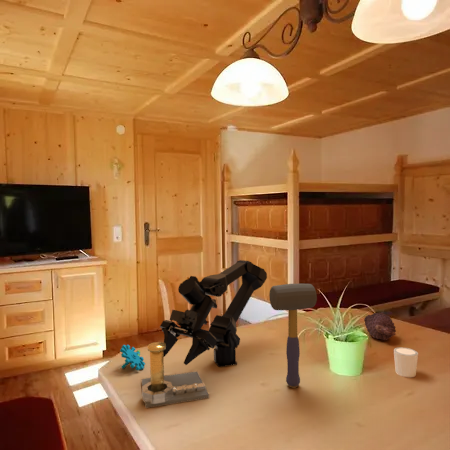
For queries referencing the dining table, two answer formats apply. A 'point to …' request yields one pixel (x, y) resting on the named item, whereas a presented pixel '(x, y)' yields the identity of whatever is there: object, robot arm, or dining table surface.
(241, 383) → the dining table surface
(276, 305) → the rubber mallet
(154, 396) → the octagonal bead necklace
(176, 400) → the grey base plate
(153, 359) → the golden flared cup
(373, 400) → the dining table surface
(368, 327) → the pine cone
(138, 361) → the gear
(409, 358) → the shot glass
